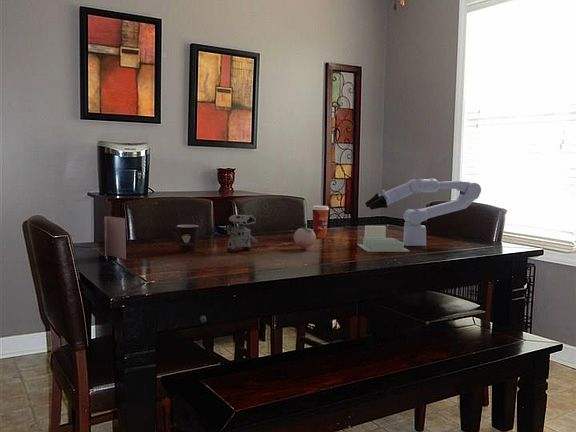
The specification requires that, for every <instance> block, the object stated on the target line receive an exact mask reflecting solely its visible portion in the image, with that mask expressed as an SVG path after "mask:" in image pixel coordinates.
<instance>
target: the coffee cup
mask: <svg viewBox="0 0 576 432" xmlns="http://www.w3.org/2000/svg"><path fill="white" fill-rule="evenodd" d="M311 209H312V231H313V232H314V233H315V235H316V238H315V239H326V237H327V232H328V231H327V229H328V218H329V210H330V208H329V206H328V205H313V206H312V208H311Z"/></svg>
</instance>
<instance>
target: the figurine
mask: <svg viewBox="0 0 576 432" xmlns="http://www.w3.org/2000/svg"><path fill="white" fill-rule="evenodd" d="M256 219H257V218H256V217H254V215H253V214H233V215H231V216H230V217H229V218H228V220H229V222H232V223H233V224H234V225H237V226H233V225H232V224H231V225H229V226H228V227H227V234H226V235H227V236H230V238H229V239H228V241H227V248H226V251H227V252H229V253H235V252H236V247H237V248H242V249H243V251H248V252H249V251H252V245H251V241H252V242H254V243H255V244H259V241H260V239H261V237H260V236H258V238H257V239H256V238H254V237H253V235H251V229H250V228H247V225H252V224H255V223H256Z"/></svg>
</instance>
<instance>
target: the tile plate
mask: <svg viewBox="0 0 576 432" xmlns="http://www.w3.org/2000/svg"><path fill="white" fill-rule="evenodd" d="M386 234H387V226H386V225H365V226H364V238H387V235H386Z"/></svg>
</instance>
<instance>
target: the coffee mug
mask: <svg viewBox="0 0 576 432" xmlns="http://www.w3.org/2000/svg"><path fill="white" fill-rule="evenodd" d="M199 227H200V226H199V225H197V224H178V225H176V228H170V229H169V230H167V236H168V238H169V239H170V240H171V241H173V242H174V243H176V244H177V245H178V247H179V248H178V249H179V252H181V253H194V252H196V251H197V245H198V244H197V243H198V237H199V236H198V235H199V229H200V228H199ZM171 231H174V232H175V233H176V234H177V239H178V241H177V240H175V239H174V238H172V237H171V236H170V232H171Z"/></svg>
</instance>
